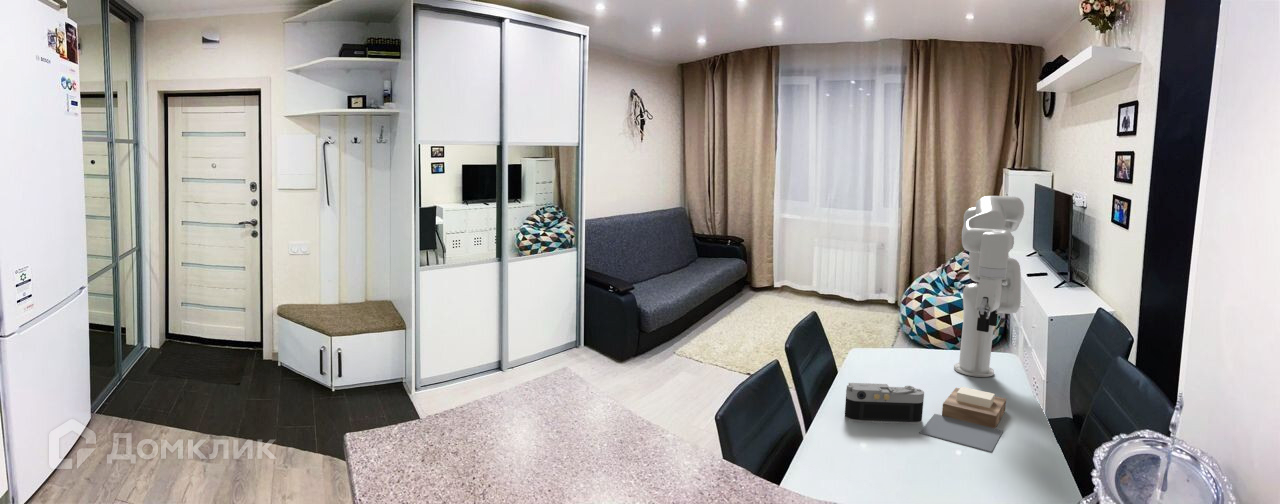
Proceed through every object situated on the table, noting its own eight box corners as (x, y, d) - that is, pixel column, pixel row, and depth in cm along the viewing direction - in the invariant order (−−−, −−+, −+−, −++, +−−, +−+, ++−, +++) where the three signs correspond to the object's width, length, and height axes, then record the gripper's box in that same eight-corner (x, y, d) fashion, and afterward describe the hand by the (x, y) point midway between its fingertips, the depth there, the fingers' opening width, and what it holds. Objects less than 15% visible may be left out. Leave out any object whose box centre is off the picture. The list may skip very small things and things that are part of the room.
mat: (934, 414, 194) (934, 413, 193) (1002, 431, 183) (1002, 430, 183) (919, 433, 181) (919, 432, 181) (991, 452, 170) (991, 451, 170)
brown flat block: (954, 399, 205) (955, 387, 204) (1005, 411, 196) (1006, 398, 196) (941, 416, 192) (942, 403, 192) (994, 429, 184) (996, 416, 183)
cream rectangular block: (960, 394, 199) (961, 386, 198) (993, 401, 193) (994, 393, 193) (956, 400, 194) (956, 392, 194) (989, 408, 189) (990, 399, 188)
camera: (914, 412, 196) (916, 380, 194) (925, 426, 186) (928, 392, 184) (840, 409, 197) (842, 378, 195) (847, 423, 188) (849, 390, 186)
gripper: (985, 268, 205) (980, 321, 208) (970, 274, 192) (965, 331, 195) (1012, 271, 201) (1006, 325, 203) (999, 278, 188) (993, 336, 190)
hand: (986, 328), depth 199 cm, fingers open, 9 cm apart
